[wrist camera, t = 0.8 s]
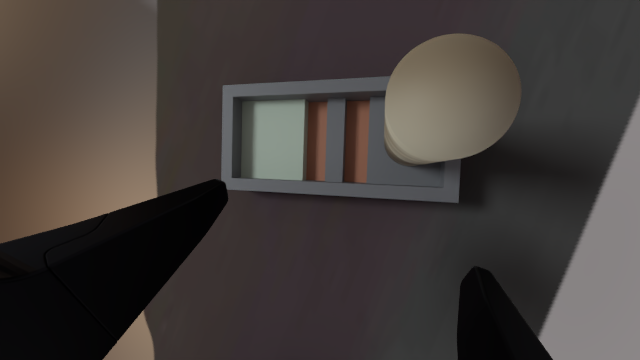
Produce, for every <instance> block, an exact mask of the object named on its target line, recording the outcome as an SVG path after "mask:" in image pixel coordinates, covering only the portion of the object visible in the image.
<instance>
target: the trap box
mask: <svg viewBox="0 0 640 360" xmlns="http://www.w3.org/2000/svg"><path fill="white" fill-rule="evenodd" d="M390 77H391V76H388V77H370V78H351V79H333V80H314V81H296V82H277V83H259V84H240V85H223V111H222V174H221V181H224V182H225V183H226V187H227V189H231V190H248V191H265V192H282V193H299V194H316V195H333V196H350V197H367V198H384V199H401V200H418V201H435V202H452V203H458V201H459V184H460V166H461V158H460V159H454V160H447V161H441V162H435V163H429V164H423V165H416V166H404V165H400V164H398V163H396V162H395V161H393V160H392V159H391V158H390V157H389V156H388V154H387V152H386V150H385V146H384V123H385V96H386V90H387V86H388V82H389V80H390Z"/></svg>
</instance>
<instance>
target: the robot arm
mask: <svg viewBox="0 0 640 360" xmlns="http://www.w3.org/2000/svg"><path fill="white" fill-rule="evenodd" d="M227 201H228V193H227V187H226V183H225V182H224V181H221V180H218V179H213V180H209V181H206V182H203V183H200V184H197V185H194V186H191V187H188V188H185V189H182V190H178V191H175V192H172V193H169V194H166V195H163V196H160V197H157V198H154V199H150V200H147V201H144V202H141V203H138V204H135V205H132V206H129V207H126V208H122V209H119V210H116V211H113V212H110V213H109V214H108V213H107V214H104V215H101V216H98V217H94V218H91V219H88V220H85V221H81V222H78V223H75V224H72V225H68V226H64V227H60V228H57V229H54V230H50V231H46V232H42V233H38V234H35V235H31V236H27V237H24V238H20V239H16V240H12V241H8V242H5V243H1V244H0V360H102V359H103V358H104V357H105V356H106V355H107V354H108V352H109V351H110V350H111V349H112V347H113V346H114V345H115V344H116V343H117V341H118V340H119V339H120V338H121V336H122V335H123V334H124V333H125V332H126V330H127V329H128V328H129V327H130V326H131V324H132V323H133V322H134V320H135V319H136V318H137V317H138V316H139V315H140V314H141V312H142V311H143V310H144V309H145V307H146V306H147V305H148V304H149V303H150V301H151V300H152V299H153V298H154V297H155V295H156V294H157V293H158V292H159V291H160V289H161V288H162V287H163V286H164V284H165V283H166V282H167V281H168V280H169V278H170V277H171V276H172V275H173V274H174V272H175V271H176V270H177V269H178V268H179V266H180V265H181V264H182V263H183V262H184V260H185V259H186V258H187V257H188V255H189V254H190V253H191V252H192V251H193V249H194V248H195V247H196V246H197V245H198V243H199V242H200V241H201V240H202V239H203V237H204V236H205V235H206V233H207V232H208V231H209V229H210V228H211V226H212V225H213V223H214V222H215V220H216V219H217V217H218V216H219V214H220V213H221V211H222V210H223V208H224V207H225V205H226V204H227ZM457 350H458V360H553V359H552V358H551V356H550V355H549V353H548V352H547V351H546V349H545V348H544V346H543V345H542V344H541V342H540V341H539V339H538V338H537V337H536V335H535V334H534V332H533V331H532V330H531V328H530V327H529V325H528V324H527V322H526V321H525V320H524V318H523V317H522V315H521V314H520V313H519V311H518V310H517V308H516V307H515V306H514V304H513V303H512V301H511V300H510V299H509V297H508V296H507V294H506V293H505V292H504V290H503V289H502V287H501V286H500V285H499V283H498V282H497V280H496V279H495V277H494V276H493V275H492V273H491V272H490V271H488V270H486V269H483V268H480V267H477V266H474V267H473V268H472V269H471V270H470V271H469V272H468V274H467V275H466V276H465V278H464V279H463V280H462V282H461V286H460V298H459V311H458V325H457Z"/></svg>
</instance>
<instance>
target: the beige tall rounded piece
mask: <svg viewBox="0 0 640 360" xmlns="http://www.w3.org/2000/svg"><path fill="white" fill-rule="evenodd" d="M520 100H521V82H520V77H519V74H518V71H517V69H516V67H515V65H514V63H513V61H512V60H511V58H510V57H509V56H508V54H507V53H506V52H505V51H504V50H503V49H501V48H500V47H499V46H497V45H496V44H495V43H493V42H491V41H489V40H487V39H484V38H482V37H479V36H475V35H470V34H449V35H443V36H439V37H435V38H433V39H430V40H428V41H426V42H424V43H422V44H420V45H418V46H417V47H416V48H414V49H413V50H411V51H410V52H409V53H408V54H407V55H406V56H405V57H404V58H403V59H402V60H401V61H400V62H399V64H398V65H397V67H396V68H395V70H394V71H393V73H392V75H391V77H390V80H389V82H388V86H387V90H386V96H385V123H384V146H385V150H386V152H387V154H388V156H389V157H390V158H391V159H392V160H393V161H395V162H396V163H398V164H400V165H404V166H416V165H423V164H429V163H435V162H441V161H447V160H454V159H460V158H465V157H468V156H472V155H474V154H477V153H479V152H481V151H483V150H485V149H487V148H489V147H490V146H491V145H493V144H494V143H495V142H497V141H498V140H499V139H500V138H501V137H502V136H503V135H504V134H505V133H506V131H507V130H508V129H509V127H510V126H511V124H512V123H513V121H514V119H515V117H516V115H517V112H518V109H519V105H520Z"/></svg>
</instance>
